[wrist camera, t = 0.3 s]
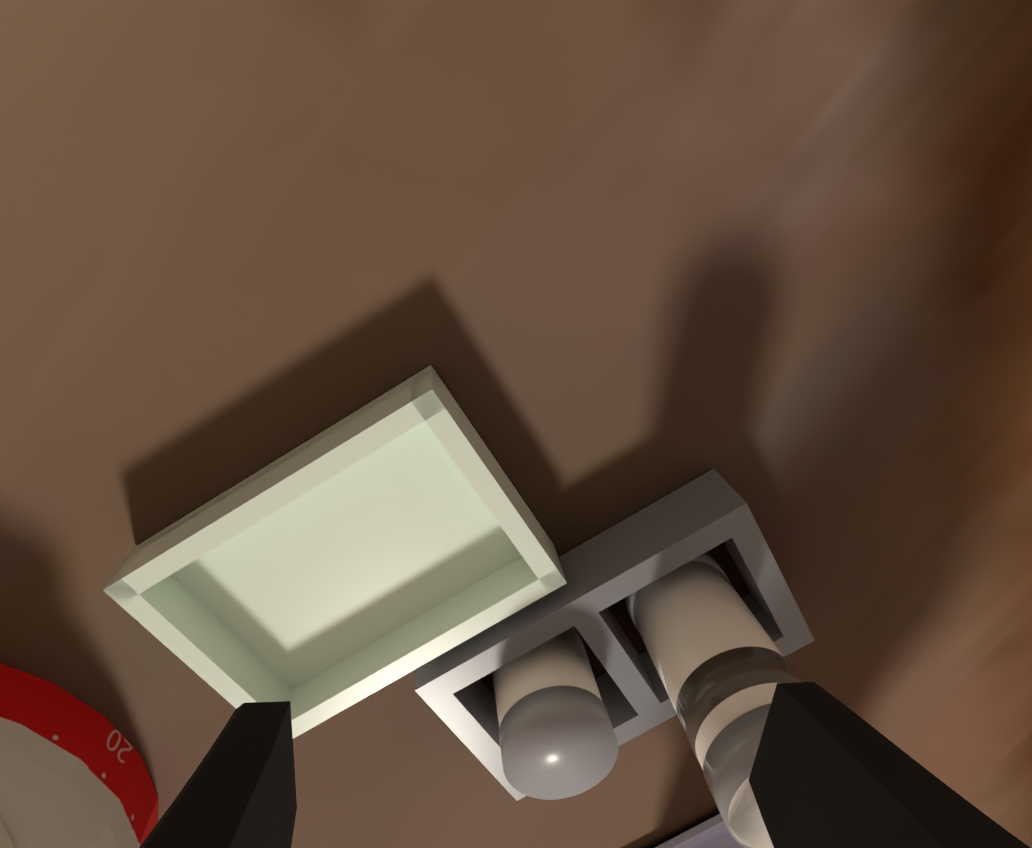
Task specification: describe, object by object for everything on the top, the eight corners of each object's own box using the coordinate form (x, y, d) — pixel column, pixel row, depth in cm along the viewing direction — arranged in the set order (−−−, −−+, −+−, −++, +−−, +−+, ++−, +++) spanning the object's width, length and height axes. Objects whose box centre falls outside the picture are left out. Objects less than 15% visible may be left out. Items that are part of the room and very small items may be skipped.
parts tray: (553, 544, 20) (567, 583, 18) (291, 695, 21) (279, 746, 19) (430, 364, 17) (431, 389, 16) (135, 547, 18) (102, 590, 16)
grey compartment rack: (779, 596, 22) (852, 685, 18) (508, 745, 23) (525, 858, 19) (714, 468, 20) (782, 540, 16) (415, 639, 21) (413, 744, 17)
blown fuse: (730, 589, 22) (886, 806, 14) (645, 636, 22) (757, 872, 15) (692, 520, 20) (843, 721, 13) (603, 571, 21) (702, 794, 13)
